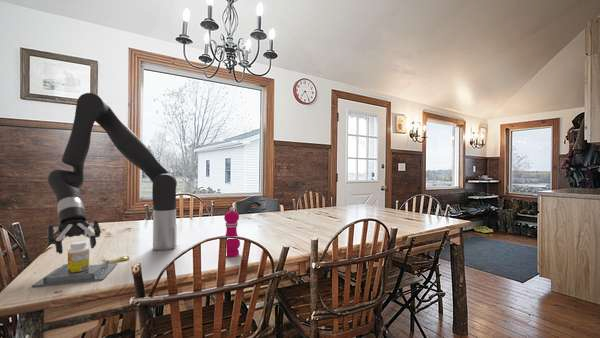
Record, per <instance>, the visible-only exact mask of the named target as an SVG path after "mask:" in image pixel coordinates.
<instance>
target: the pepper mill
mask: <svg viewBox="0 0 600 338" xmlns="http://www.w3.org/2000/svg"><path fill="white" fill-rule="evenodd" d="M223 219H224V221H225V227H226V233H225V236H238V232H237V229H238V228H237V227H238V221H239V219H240V214H239V213H238V211H235V207H232V206H231V207H229V210H228V211H227V212H226V213H224V217H223ZM225 236H224V237H225ZM238 237H239V236H238ZM240 246H241V241H240V239H239V240H238V239H228V240H227V257H226V258H234V257H238V256H239V254H240V250H239V248H240Z"/></svg>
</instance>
